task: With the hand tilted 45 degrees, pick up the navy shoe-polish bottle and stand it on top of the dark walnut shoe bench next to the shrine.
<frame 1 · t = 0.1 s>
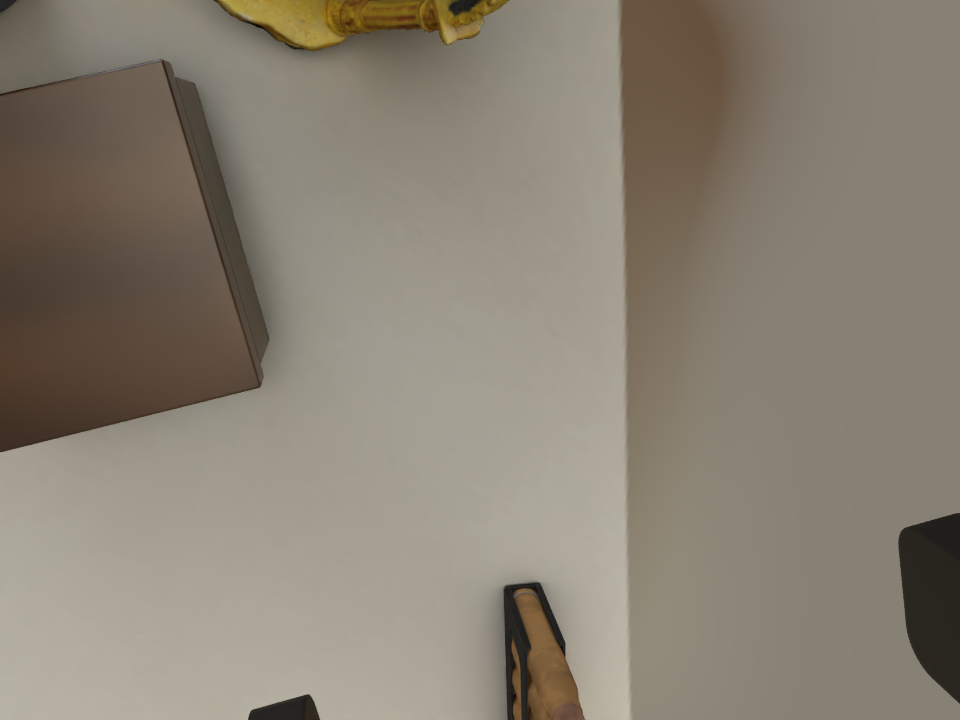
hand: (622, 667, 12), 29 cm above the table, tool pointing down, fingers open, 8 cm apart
shoe bench: (115, 243, 37), on the table
ammunition clip: (523, 676, 46), on the table
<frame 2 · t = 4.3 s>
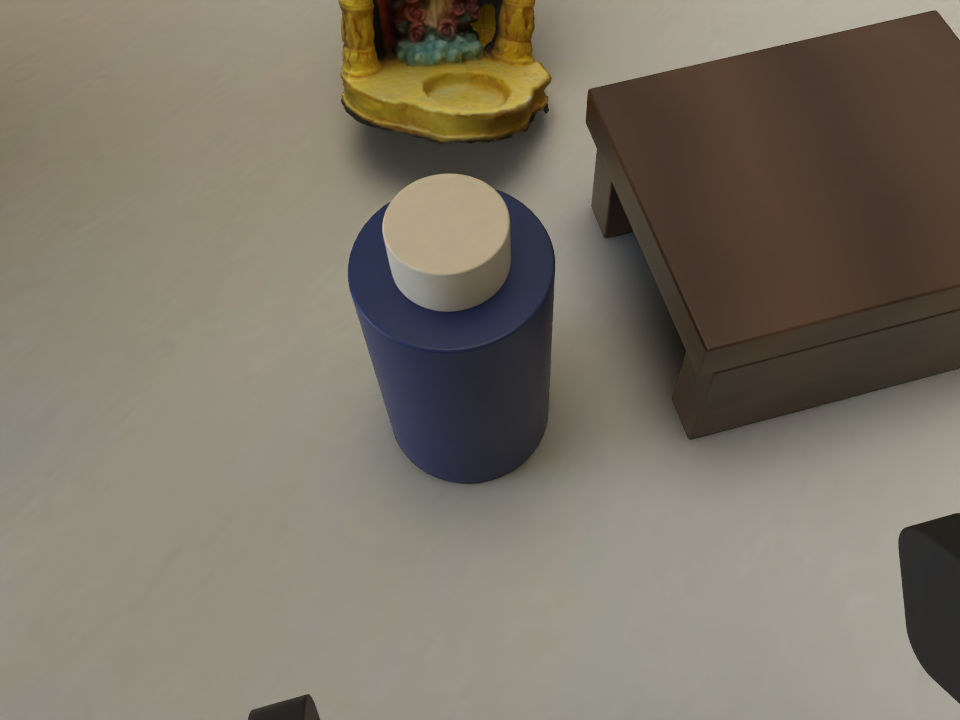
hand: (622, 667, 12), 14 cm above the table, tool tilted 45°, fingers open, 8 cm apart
polish bottle: (469, 410, 30), on the table
shrine: (454, 98, 37), on the table
shoe bench: (783, 276, 32), on the table
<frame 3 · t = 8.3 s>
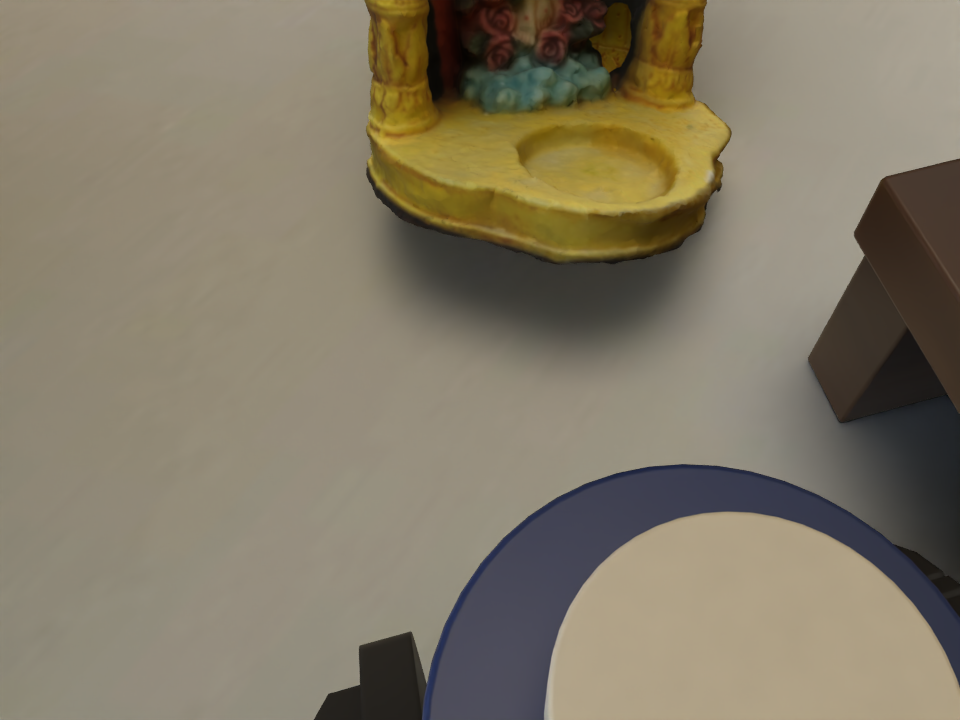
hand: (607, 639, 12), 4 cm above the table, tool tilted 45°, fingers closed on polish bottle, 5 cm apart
shrine: (549, 158, 22), on the table
when the fingers open (10 cm above the table, at t = 15.1 s): polish bottle stays where it is, resting on shoe bench.
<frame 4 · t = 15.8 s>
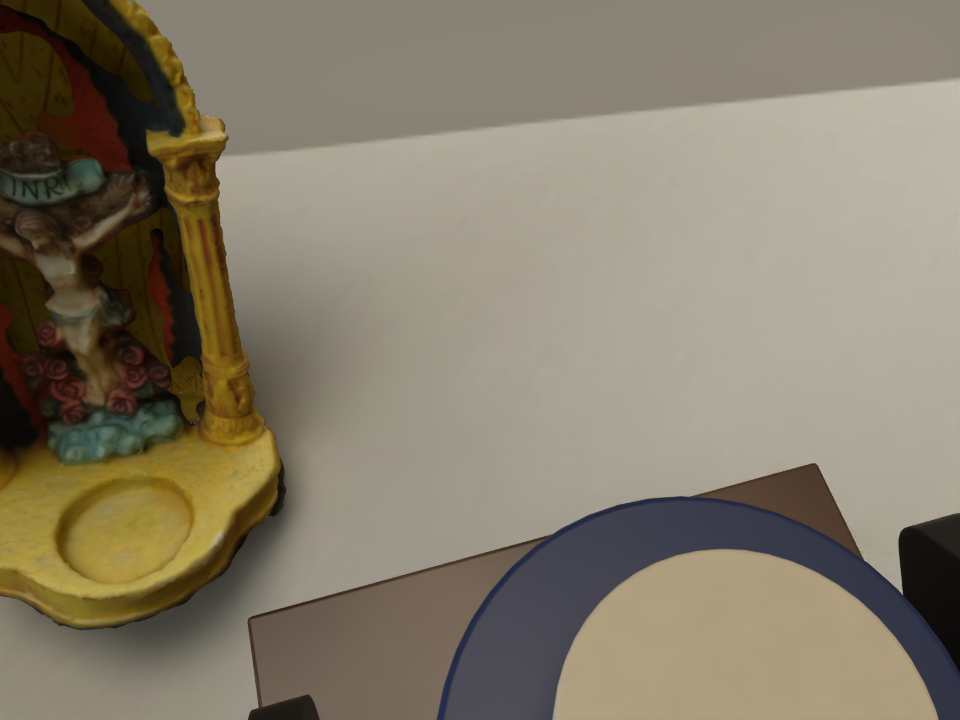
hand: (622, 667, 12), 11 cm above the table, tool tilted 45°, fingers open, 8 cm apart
shrine: (170, 457, 26), on the table
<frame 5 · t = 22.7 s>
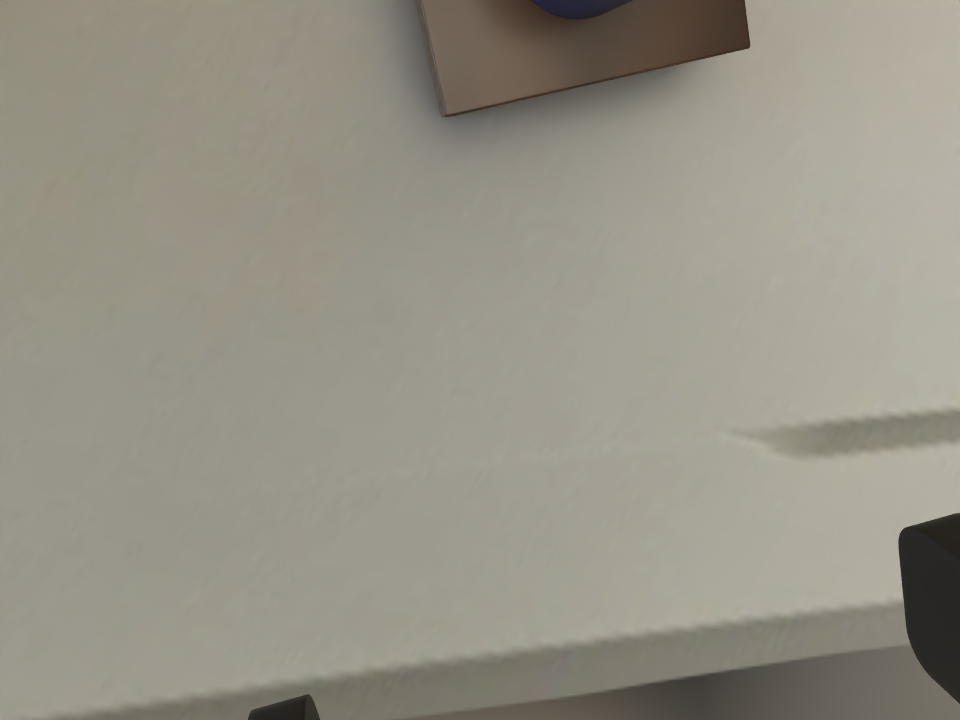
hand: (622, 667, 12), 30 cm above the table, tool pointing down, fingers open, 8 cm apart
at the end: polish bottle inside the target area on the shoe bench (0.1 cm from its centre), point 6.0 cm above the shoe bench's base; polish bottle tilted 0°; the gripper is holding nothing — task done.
